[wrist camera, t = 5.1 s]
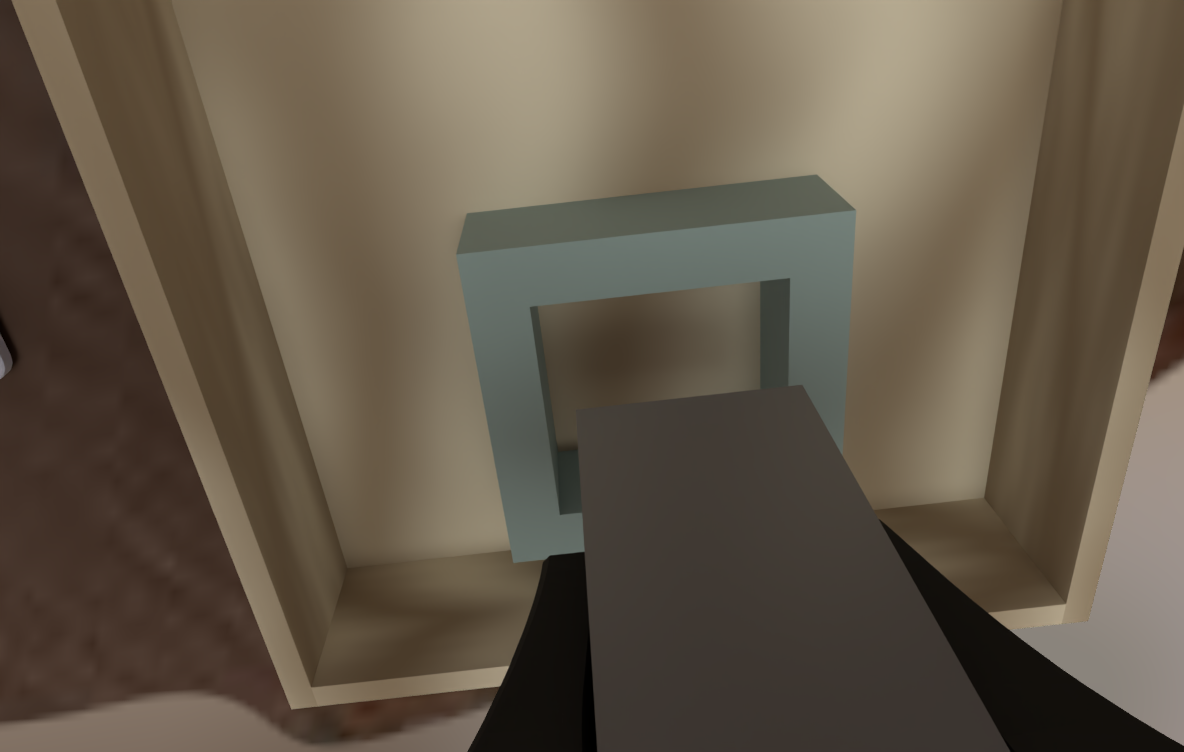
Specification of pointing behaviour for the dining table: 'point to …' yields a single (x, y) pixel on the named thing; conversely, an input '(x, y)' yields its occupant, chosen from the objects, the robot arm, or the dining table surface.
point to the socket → (634, 267)
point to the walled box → (631, 323)
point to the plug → (754, 590)
